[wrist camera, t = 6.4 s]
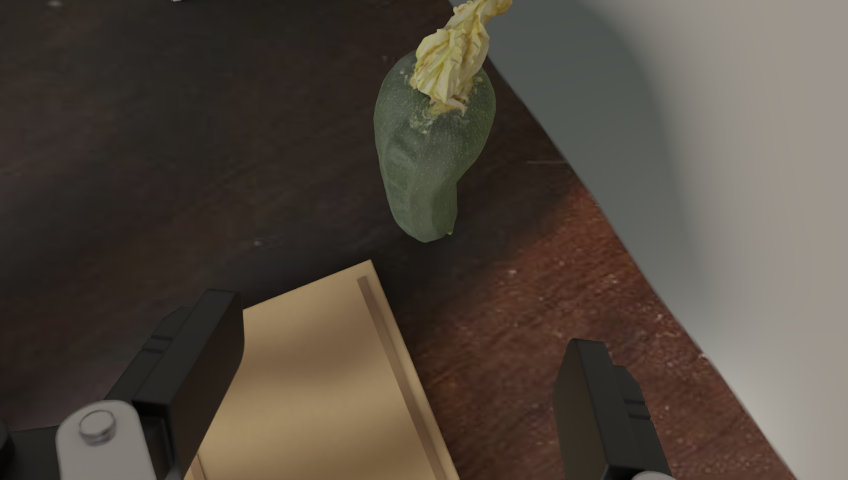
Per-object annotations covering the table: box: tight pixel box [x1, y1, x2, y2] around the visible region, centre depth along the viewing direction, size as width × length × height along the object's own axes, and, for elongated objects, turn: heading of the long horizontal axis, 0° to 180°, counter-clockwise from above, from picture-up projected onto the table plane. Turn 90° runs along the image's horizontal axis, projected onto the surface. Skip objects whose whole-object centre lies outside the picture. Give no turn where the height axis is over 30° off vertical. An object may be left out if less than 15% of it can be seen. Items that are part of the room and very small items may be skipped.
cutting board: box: [184, 260, 460, 480], centre depth 29 cm, size 18×13×2 cm
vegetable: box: [374, 0, 513, 243], centre depth 24 cm, size 4×4×20 cm
